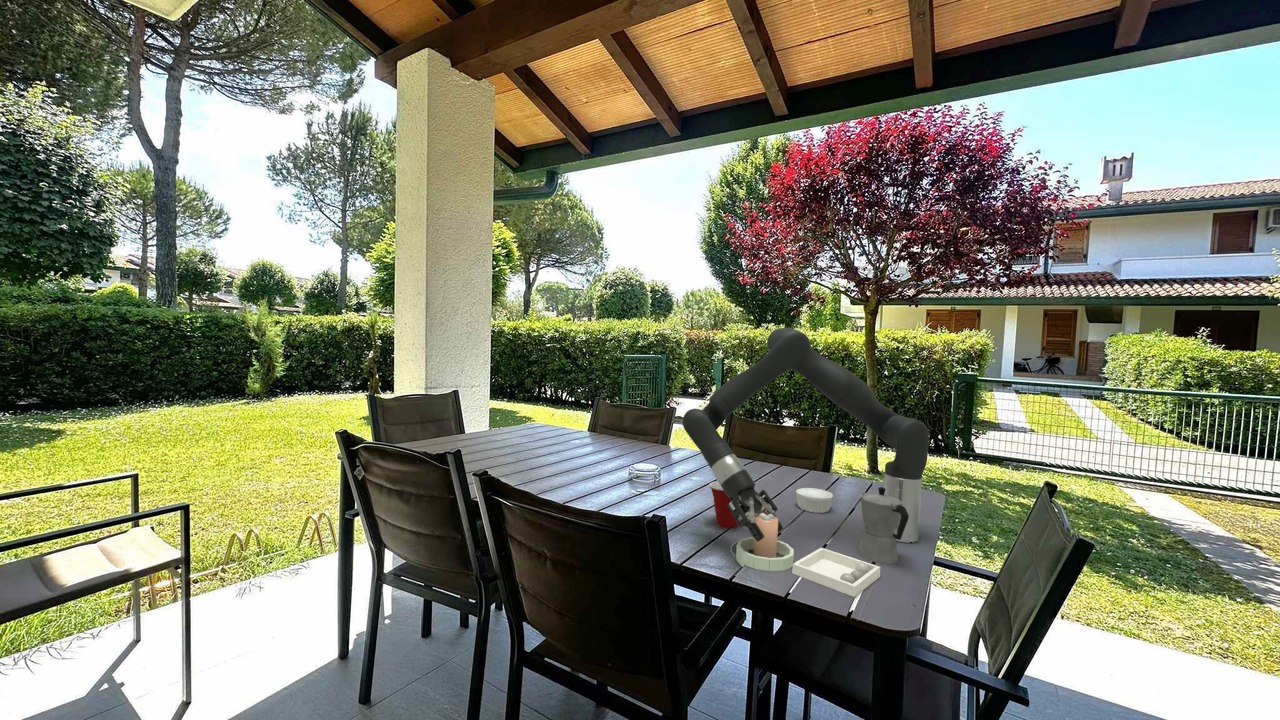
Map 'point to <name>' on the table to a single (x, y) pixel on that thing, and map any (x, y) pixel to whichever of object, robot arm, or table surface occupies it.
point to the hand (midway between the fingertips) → (770, 535)
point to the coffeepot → (881, 527)
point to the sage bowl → (762, 562)
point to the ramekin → (814, 500)
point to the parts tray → (837, 571)
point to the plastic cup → (722, 507)
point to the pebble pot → (766, 536)
